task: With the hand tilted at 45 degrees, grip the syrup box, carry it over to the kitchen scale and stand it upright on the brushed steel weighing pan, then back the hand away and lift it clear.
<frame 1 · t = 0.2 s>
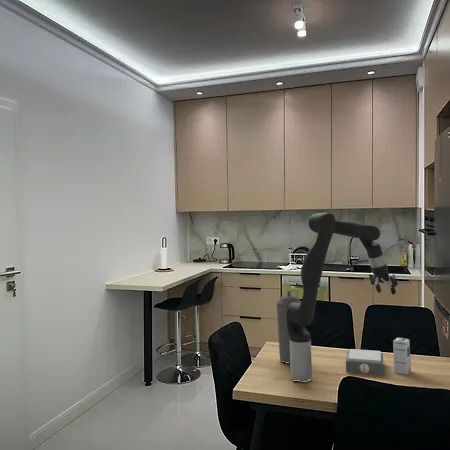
hand: (386, 293, 213), 31 cm above the table, tool tilted 20°, fingers open, 8 cm apart
kitchen scale: (365, 367, 196), on the table
canister: (291, 361, 209), on the table
syrup box: (402, 372, 189), on the table
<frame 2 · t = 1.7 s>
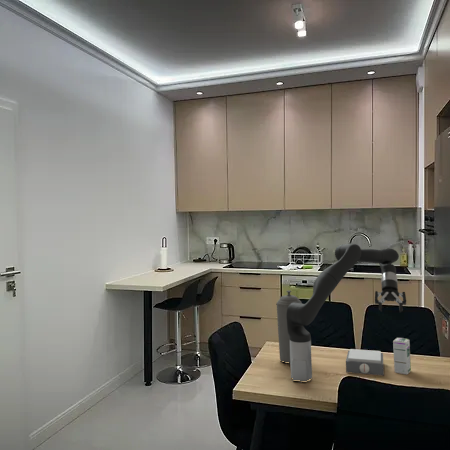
hand: (390, 310, 201), 25 cm above the table, tool tilted 45°, fingers open, 8 cm apart
nothing on the table moved.
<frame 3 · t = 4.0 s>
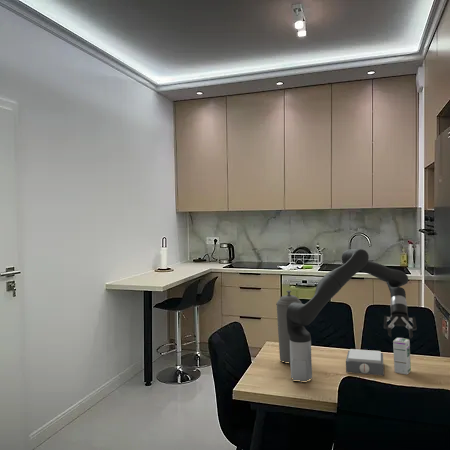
hand: (400, 336, 195), 14 cm above the table, tool tilted 45°, fingers open, 8 cm apart
nothing on the table moved.
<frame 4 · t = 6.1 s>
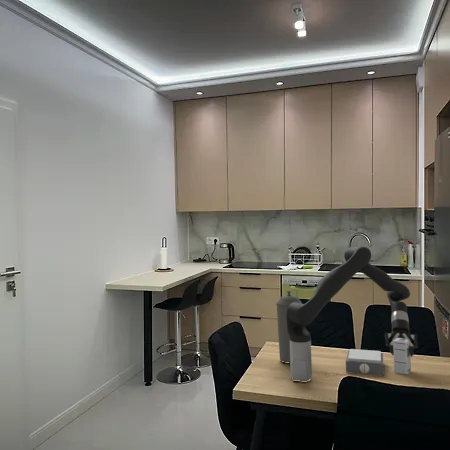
hand: (402, 355, 188), 8 cm above the table, tool tilted 45°, fingers closed on syrup box, 7 cm apart
syrup box: (402, 372, 189), on the table, touching gripper
everything else where it was.
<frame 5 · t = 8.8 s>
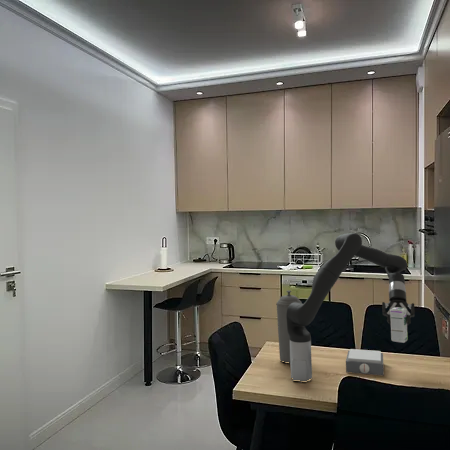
hand: (399, 323, 188), 22 cm above the table, tool tilted 45°, fingers closed on syrup box, 7 cm apart
syrup box: (399, 340, 190), point 14 cm above the table, touching gripper
everything else where it was.
when the fingers open (15 cm above the table, at t = 11.8 s): syrup box drops 1 cm, resting on kitchen scale.
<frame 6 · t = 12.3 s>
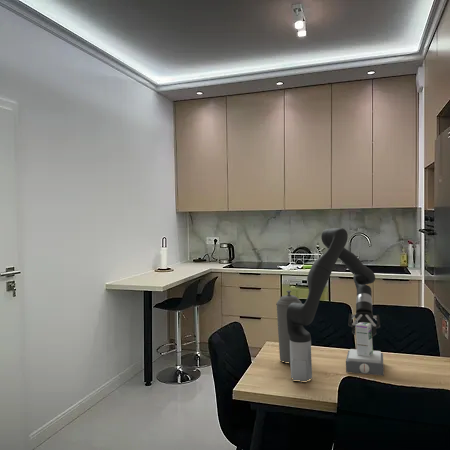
hand: (364, 334, 194), 16 cm above the table, tool tilted 45°, fingers open, 8 cm apart
syrup box: (364, 354, 196), point 6 cm above the table, touching kitchen scale
everything else where it was.
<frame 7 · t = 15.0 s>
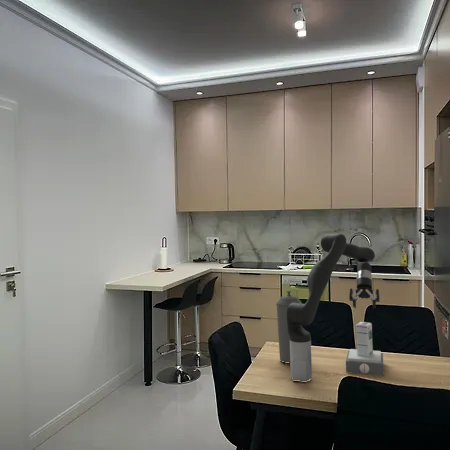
hand: (364, 307, 206), 26 cm above the table, tool tilted 45°, fingers open, 8 cm apart
nothing on the table moved.
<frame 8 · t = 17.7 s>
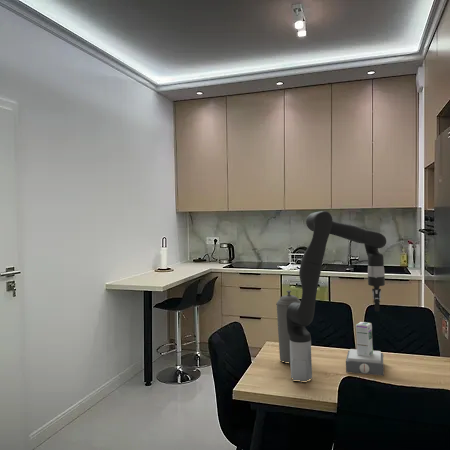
hand: (377, 309, 200), 26 cm above the table, tool pointing down, fingers open, 8 cm apart
nothing on the table moved.
at the end: syrup box inside the target area on the kitchen scale (0.2 cm from its centre), point 6.0 cm above the kitchen scale's base; syrup box tilted 0°; the gripper is holding nothing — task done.
